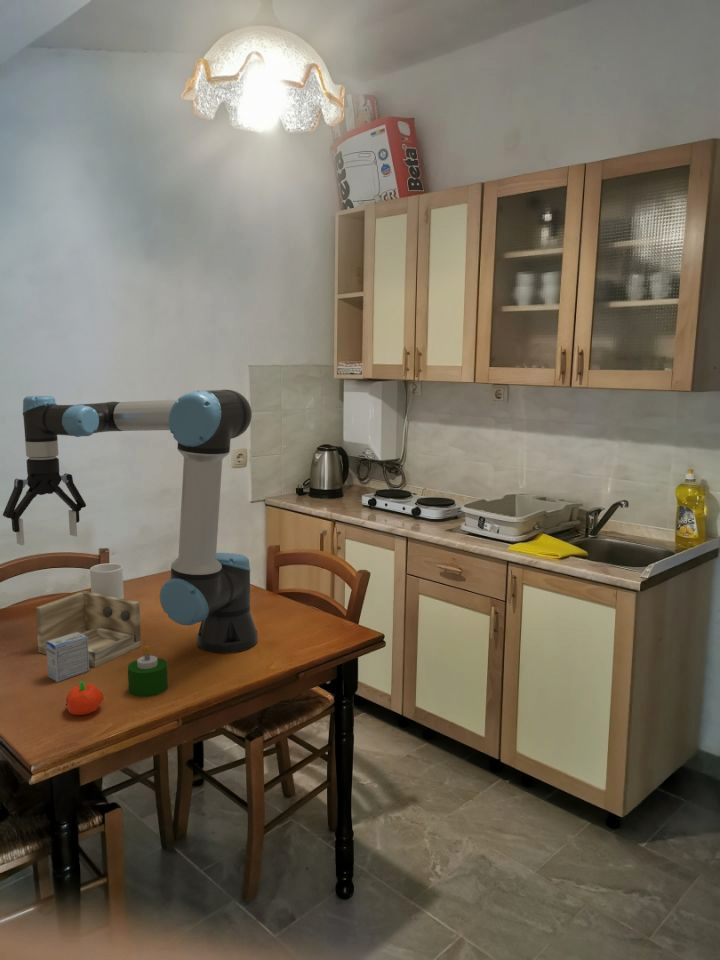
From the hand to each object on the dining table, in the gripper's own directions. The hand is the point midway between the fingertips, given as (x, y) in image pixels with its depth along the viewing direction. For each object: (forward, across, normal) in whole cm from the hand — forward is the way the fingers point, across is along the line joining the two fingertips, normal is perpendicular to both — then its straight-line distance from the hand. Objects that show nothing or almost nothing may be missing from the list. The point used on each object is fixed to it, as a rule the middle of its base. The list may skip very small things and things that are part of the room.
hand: (47, 539), depth 190 cm
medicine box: (+26, +8, +27) cm, 38 cm away
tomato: (+26, +14, +47) cm, 55 cm away
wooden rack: (+25, -2, +17) cm, 30 cm away
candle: (+26, -1, +46) cm, 53 cm away
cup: (+26, -14, +4) cm, 29 cm away
